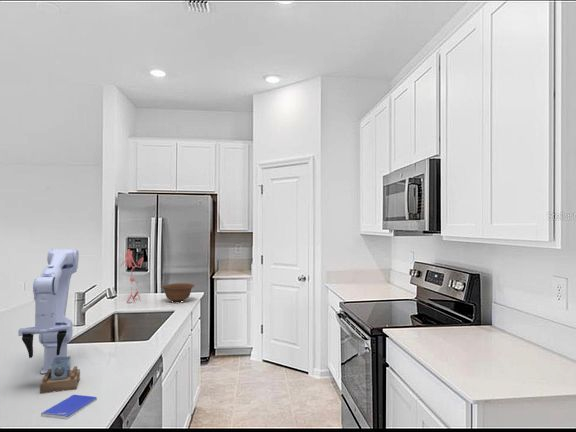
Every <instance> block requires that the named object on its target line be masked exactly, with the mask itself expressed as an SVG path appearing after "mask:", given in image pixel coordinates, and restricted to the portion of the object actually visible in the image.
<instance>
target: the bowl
mask: <svg viewBox="0 0 576 432" xmlns="http://www.w3.org/2000/svg"><path fill="white" fill-rule="evenodd" d="M160 288H162V289H163V290H164V294H165V297H166V298H167V299H168V300H170V301H173V302H181V301H184V302H185V300H186V299H188V298H189V297H190V295H191V291H192V289H193V288H195V284H193V283H182V282H181V283H180V282H179V283H177V282H176V283H169V284H165V285H161V286H160Z"/></svg>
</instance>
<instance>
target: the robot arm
mask: <svg viewBox="0 0 576 432" xmlns="http://www.w3.org/2000/svg"><path fill="white" fill-rule="evenodd" d="M79 258H80V254H79V250H78V248H62V249H61V248H58V249H57V248H54V249H53V248H50V249H48V251H47V259H46V261H47V264H48V265H46V266H45V267H44V268H43V270H42V272H41V274H40V276H38V277H37V278H34V280H33V283H32V293H33V301H35V302H34V303H35V307H34V309H35V311H34V312H35V313H34V326H30V327H25V328H24V327H23V328H19V329H18V332H17V333H18V334H17V335H18V337H21V340H22V342H23V344H24V345H25V347H26V350H27V353H28V358H29V359H32V358H33V357H34V347H33V346H34V335H38V342H39V343H40V344H41V345H42V347H43V350H44V351H43V352H44V353H43V368H42V370H41V371H40V374H41V375H45V374H46V373H47V371H48V369H51V364H52V363H53V361H54V359H55V358H58V357H68V344H69V343H70V342H71V341H72V338H73V331H74V330H73V325H74V324H73V321H72V319H70V318H68V317H67V316H66V312H67V307H68V298H69V289H70V285H71V284H70V283H71V278H72V275H73V274H76V272H78V270H77V269H78V268H79V267H78V266H79Z"/></svg>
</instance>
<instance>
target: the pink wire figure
mask: <svg viewBox="0 0 576 432" xmlns="http://www.w3.org/2000/svg"><path fill="white" fill-rule="evenodd" d="M126 252H127V253H125V254H124V256H125V259H124V261H123V262H122V263H121V264H120V266H122V265H124V264H125V266H128V268H129V269H130V268H131V267H132V268H131V270H130V271H131V273H130V279H129V280H130V283H131V284H133V282H136V285H138V284H139V282H138V281H137V280H135V278H134V277H133V270H134V269H136V268H142V264H143V262H144V259H145V258H144V257H141V258H140V259H138V261H137V264H136V263H135V261H134V258H133V250H131V249H130V248H128V249H127V251H126ZM132 263H133V264H132ZM133 265H134V266H133ZM130 291H131V292H130V295H129V298H128V299H127V301H126V303H128V302H130V300H131V298H132V300H133V302H134V303H135V302H136V300H135V298H137V296H138V299H139V300H140V299H141V297H140V294H139V291H138V290H136V291H135V294H134V295H133V293H132V291H133V288H131V290H130Z"/></svg>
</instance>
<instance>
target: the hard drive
mask: <svg viewBox="0 0 576 432" xmlns="http://www.w3.org/2000/svg"><path fill="white" fill-rule="evenodd" d="M97 398H98V397H97V396H90V395H81V394H72V395H70V396H69V397H67V398H65V399H63V400H61V401H60V402H58V403H57V404H54V405H53V406H51V407H49V408H47V409H46V410H44V411H42V412H41V413H40V417H41V416H42V418H50V417H52V418H53V419H61V420H69V419H70V418H72V417H73V416H75V415H76V414H78V413H79V412H81V411H82V410H85V408H87V407H89V406H91V404H93V403H95V402H96V401H97V400H98V399H97Z"/></svg>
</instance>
